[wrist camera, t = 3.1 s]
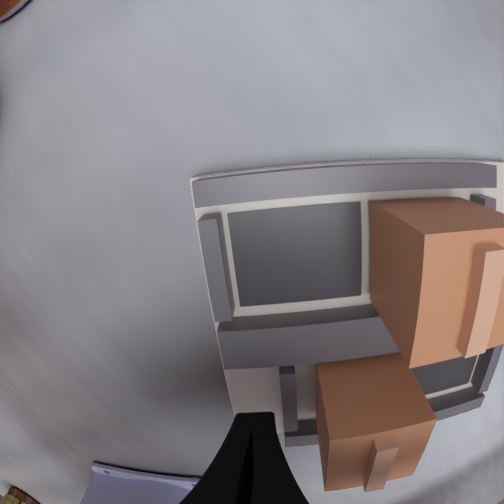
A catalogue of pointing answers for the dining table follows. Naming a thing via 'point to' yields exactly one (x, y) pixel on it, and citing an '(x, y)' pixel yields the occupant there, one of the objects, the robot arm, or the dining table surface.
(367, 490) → the orange cube
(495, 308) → the cardboard box
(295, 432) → the divided tray
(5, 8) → the pill bottle
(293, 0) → the dining table surface
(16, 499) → the sauce bottle
